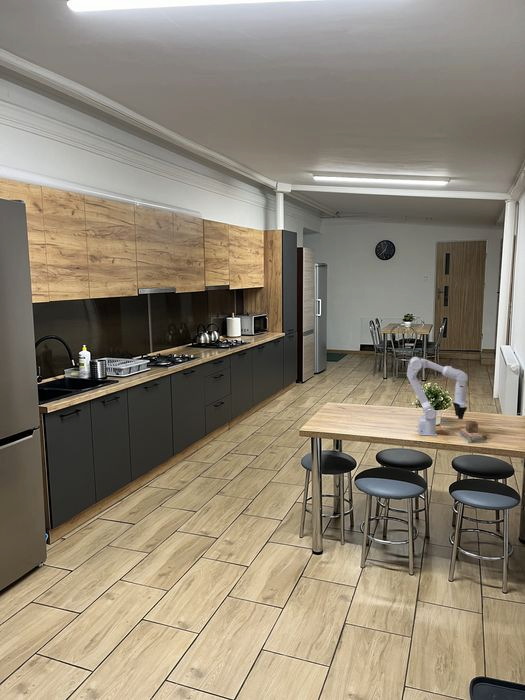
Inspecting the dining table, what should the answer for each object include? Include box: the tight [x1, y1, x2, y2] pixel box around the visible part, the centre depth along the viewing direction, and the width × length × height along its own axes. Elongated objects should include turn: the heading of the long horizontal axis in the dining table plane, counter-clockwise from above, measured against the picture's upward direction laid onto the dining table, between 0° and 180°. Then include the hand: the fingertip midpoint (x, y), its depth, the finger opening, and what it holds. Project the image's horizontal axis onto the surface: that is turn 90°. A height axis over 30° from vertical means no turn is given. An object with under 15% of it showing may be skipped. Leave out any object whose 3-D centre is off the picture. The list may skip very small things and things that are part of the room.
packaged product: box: [456, 427, 487, 444], centre depth 297 cm, size 18×5×10 cm
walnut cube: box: [465, 420, 479, 433], centre depth 296 cm, size 5×5×5 cm
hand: (459, 417), depth 302 cm, fingers open, 7 cm apart
